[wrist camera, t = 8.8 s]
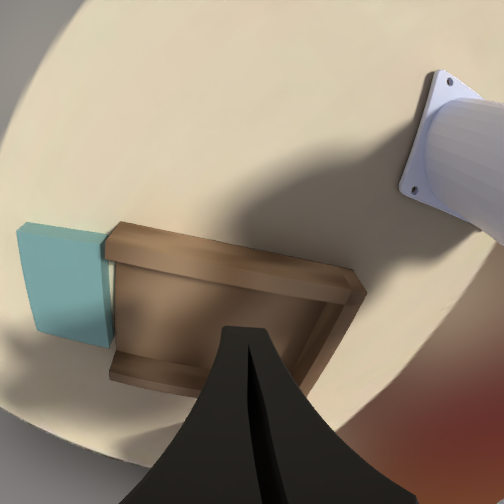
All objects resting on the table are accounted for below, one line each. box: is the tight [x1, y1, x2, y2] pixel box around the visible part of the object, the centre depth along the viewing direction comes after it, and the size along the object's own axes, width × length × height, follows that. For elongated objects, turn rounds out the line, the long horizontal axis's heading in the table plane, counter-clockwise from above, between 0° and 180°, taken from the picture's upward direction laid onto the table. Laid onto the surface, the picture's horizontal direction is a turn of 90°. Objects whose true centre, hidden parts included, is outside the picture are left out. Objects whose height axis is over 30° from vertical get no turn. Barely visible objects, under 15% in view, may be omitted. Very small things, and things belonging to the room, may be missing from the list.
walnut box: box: [105, 222, 367, 398], centre depth 19 cm, size 14×11×2 cm
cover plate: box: [16, 222, 114, 348], centre depth 17 cm, size 6×8×2 cm
